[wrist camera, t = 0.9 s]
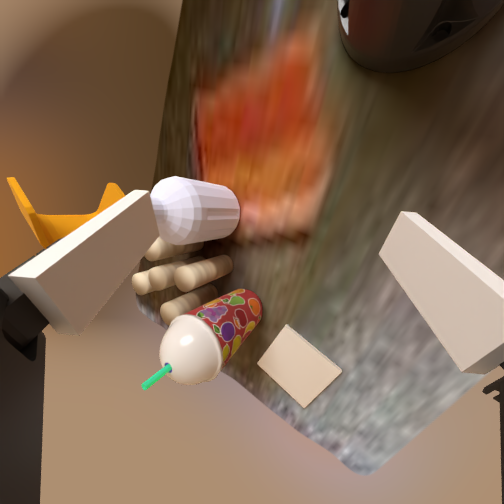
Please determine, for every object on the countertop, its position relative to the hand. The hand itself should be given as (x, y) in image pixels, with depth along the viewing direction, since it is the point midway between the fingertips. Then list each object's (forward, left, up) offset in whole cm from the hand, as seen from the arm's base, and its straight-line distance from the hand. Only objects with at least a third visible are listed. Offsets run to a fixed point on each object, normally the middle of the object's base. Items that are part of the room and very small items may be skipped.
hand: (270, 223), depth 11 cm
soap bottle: (+8, -16, -20) cm, 27 cm away
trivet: (+22, +9, -19) cm, 31 cm away
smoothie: (+19, -3, -20) cm, 28 cm away
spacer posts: (+19, -14, -19) cm, 31 cm away
